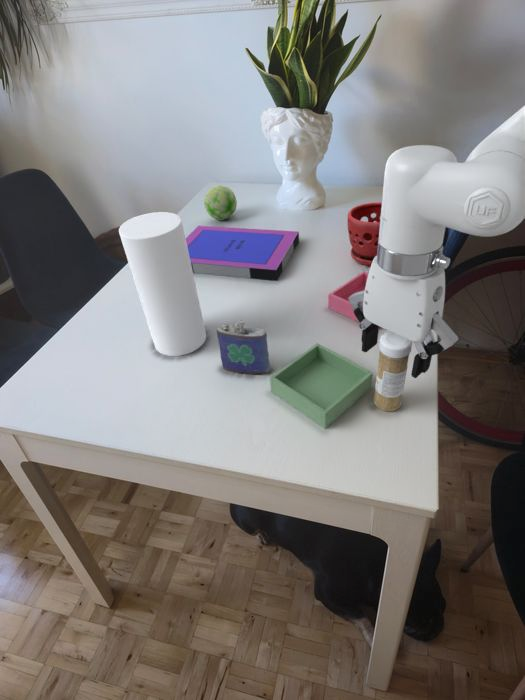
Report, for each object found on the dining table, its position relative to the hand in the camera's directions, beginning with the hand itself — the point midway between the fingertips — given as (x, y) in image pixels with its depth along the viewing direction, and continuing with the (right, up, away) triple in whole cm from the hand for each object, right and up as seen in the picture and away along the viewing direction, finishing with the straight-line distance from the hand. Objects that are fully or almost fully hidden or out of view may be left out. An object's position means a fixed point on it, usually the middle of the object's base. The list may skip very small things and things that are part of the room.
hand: (393, 359), depth 66 cm
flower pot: (+8, +24, +44) cm, 51 cm away
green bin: (-10, -5, +10) cm, 15 cm away
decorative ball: (-32, +42, +71) cm, 89 cm away
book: (-27, +26, +51) cm, 63 cm away
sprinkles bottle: (+1, -7, +6) cm, 10 cm away
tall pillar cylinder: (-37, +3, +24) cm, 44 cm away
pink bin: (+3, +11, +28) cm, 30 cm away
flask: (-23, -2, +16) cm, 28 cm away
